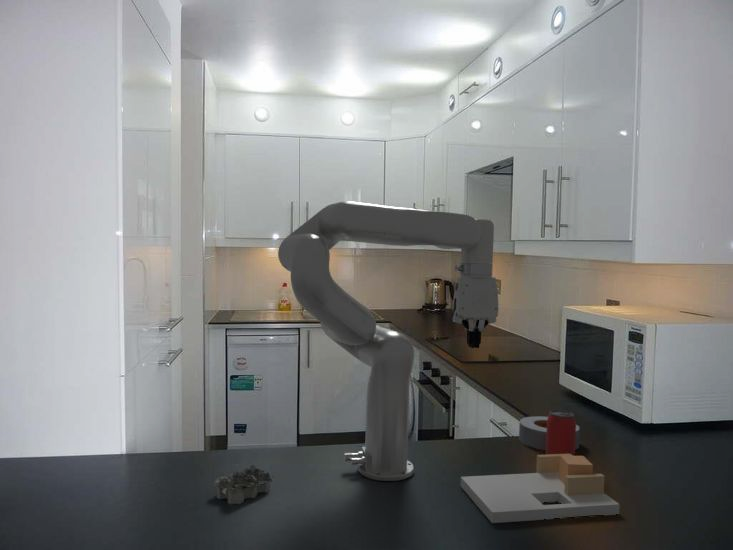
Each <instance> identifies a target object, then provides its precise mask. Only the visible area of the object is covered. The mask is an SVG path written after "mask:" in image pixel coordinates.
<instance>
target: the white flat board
mask: <svg viewBox="0 0 733 550" xmlns="http://www.w3.org/2000/svg"><path fill="white" fill-rule="evenodd" d="M560 455H569V456H573V455H571V454H548V455H546V454H536V466H535V467H536V468H535V469H536V471H535V472H532V473H530V472H529V473H511V474H510V473H509V474H490V475H471V476H469V475H468V476H460V488H461V489H462V490H463V491H464V492H465V493H466V495H467V496H468V497H469V498H470V499H471V501H472V502H474V504H475V505H476V506H477V507H478V509H480V511H481V512H482V514H484V516H485V517H486V518H487V519H488V521H490V523H491V524H500V523H501V524H502V523H512V522H513V523H514V522H515V523H517V522H527V521H528V522H529V521H542V520H544V519H546V520H555V519H554V518H560V519H563V518H562V517H573V516H588V515H604V516H615V515H616V514H618V515H620V503H618V502H617V501H616V500H614V499H612V498H611V497H610V496H608V495H607V494H606V493H605V475H604V474H602V473H593V474H585V475H566V476H565V485H564V484H563V483H562V482H561V480H560V479H559V463H560ZM556 501H557V502H556ZM544 502H547V503H558V504H545V503H544ZM560 503H561V504H560Z"/></svg>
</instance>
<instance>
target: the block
mask: <svg viewBox="0 0 733 550" xmlns="http://www.w3.org/2000/svg"><path fill="white" fill-rule="evenodd" d="M593 470H594V464H593V463H592V462H590V460H588V459H587V457H585V456H584V455H575V456H569V455H560V463H559V479H560V480H561V482H562V483H563V484H564V485H565V476H566V475H585V474H594V471H593Z"/></svg>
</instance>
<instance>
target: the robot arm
mask: <svg viewBox="0 0 733 550" xmlns="http://www.w3.org/2000/svg"><path fill="white" fill-rule="evenodd" d="M494 233H495V224H494V222H493V221H492V220H490V219H484V218H474V217H473V216H472V215H468V214H463V213H456V212H447V211H440V210H439V211H438V210H428V209H427V210H426V209H415V208H411V207H410V208H408V207H400V206H399V207H397V206H389V205H382V204H373V203H367V202H358V201H351V200H350V201H340V202H336V203H335V202H334V203H332V204H329V205H325V207H323V208H322V209H321V210H319V211H318V212H317V213H315V214H314V215H313V216H312V217H310V218H309V219H308V220H307V221H305V222H304V223H303V224H301V225H300V226H299V227H298V228H297V229H295V230H294V231H293V232H291V233H290V234H289V235H288V236H286V237H285V238H284V239H283V240H282V241H281V243H280V244H279V247H278V250H277V251H278V252H277V255H278V260H279V263H280V264H281V266H282V267H283V268H284V269H285V270H286V271H288V272H290V285H291V289H292V291H293V294H294V297H295V298H296V301H297V302H298V304H299V305H300V306H301V308H303V309H304V310H305V311H306V312H307V313H308V314H309V315H311V316H312V317H313V318H314V319H316V320H317V321H318V322H319V323H320V326H321V329H322V331H323V332H324V334H325V335H326V336H327V337H328V338H329V339H331V340H332V341H333V342H334V343H336V344H337V345H338V346H340V347H341V348H342V349H343V350H345V351H346V352H347V353H349V354H350V355H351V356H353V357H354V358H356V359H357V360H358V361H360V363H362V364H365V365H367V366H368V367H371V368H370V369H371V371H370V375H369V377H368V381H367V387H366V388H367V389H366V400H365V401H366V405H365V407H366V411H365V413H366V414H365V438H364V439H365V442H364V443H365V444H364V446H362V447H361V450H358V451H357V452H344V453H343V461H344V463H346V462H350V464H351V465H352V466H353V465H354V466H355V465H357V471H358V472H359V474H361V476H363V477H366V478H368V479H370V480H374V481H380V482H381V481H382V482H396V481H397V482H398V481H403V480H405V479H408V478H410V477H412V475H413V474H414V471H415V470H414V468H415V467H414V464H413V463H412V462H411V461H410V460H408V447H409V446H408V442H409V441H408V440H409V439H408V438H409V414H410V413H409V411H410V409H409V408H410V387H411V377H412V373H413V367H414V364H415V349H414V346H413V344H412V342H411V341H410V339H409V338H408V337H407V336H406V335H404V334H402V333H401V332H399V331H396V330H394V329H393V330H392V329H389V328H385V327H382V326H380V325H379V324H377V322H376V318H375V316H374V315H373V313H372V312H371V310H370V309H369V308H368V307H367V306H365V305H364V304H362V303H361V302H359V301H358V300H357V299H355V298H354V297H353V296H352V295H350V293H348V292H346V290H344V289H343V288H342V287H341V286H340V285H339V284H338V283H337V282H336V281H335V280H334V279H333V277H332V275H331V270H330V260H331V258H330V257H331V256H330V255H331V253H330V250H332V249H333V248H334V247H335V246H336V245H337V244H338V243H339V242H343V241H344V242H345V241H346V242H355V243H367V244H376V245H386V246H401V247H411V246H434V247H436V248H439V249H444V250H452V249H454V250H455V249H460V252H461V253H460V263H459V265H455V266H454V270H455V272H457V273H459V276H457V278H456V282H455V287H454V292H453V300H452V301H453V303H452V314H453V316H452V322H454V323H456V324H460V325H462V326H463V327H464V328H465V331H466V344H467V346H468V348H471V349H480V345H481V344H482V332H483V331H484V329H485V328H486V327H487V326H488V325H491V324H495V323H497V317H498V315H499V293H498V284H497V278H496V277H494V276H493V268H494V267H493V264H494V263H493V261H494V259H493V258H494V257H493V256H494V241H495V239H494V236H495V235H494ZM474 320H475V322H474Z"/></svg>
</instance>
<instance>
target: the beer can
mask: <svg viewBox="0 0 733 550" xmlns="http://www.w3.org/2000/svg"><path fill="white" fill-rule="evenodd" d="M547 417H548V419H547V435H546V451H545V455H548V454H571V455H573V456H576V450H575V437H576V425H577V422H576V417H575V414H574V413H573V412H571V411H568V410H564V409H553V410H552V409H551V410H550V411H549V414H548V416H547Z"/></svg>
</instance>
